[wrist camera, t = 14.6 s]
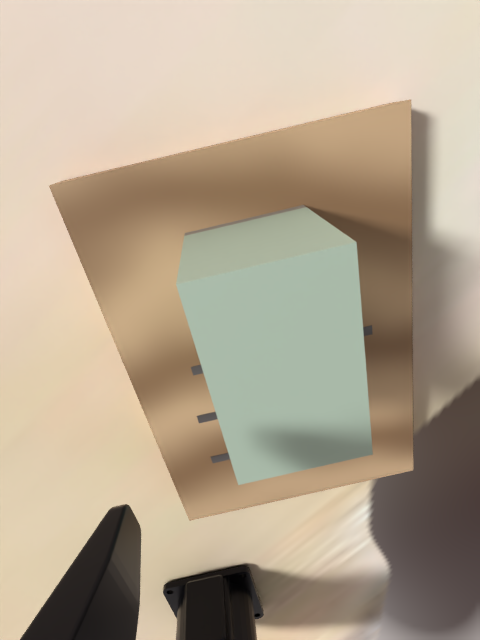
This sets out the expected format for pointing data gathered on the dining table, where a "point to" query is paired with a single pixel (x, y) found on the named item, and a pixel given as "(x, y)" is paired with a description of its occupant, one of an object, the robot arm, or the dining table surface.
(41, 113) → the dining table surface
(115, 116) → the dining table surface
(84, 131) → the dining table surface
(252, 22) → the dining table surface
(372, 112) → the oak board
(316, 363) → the block
